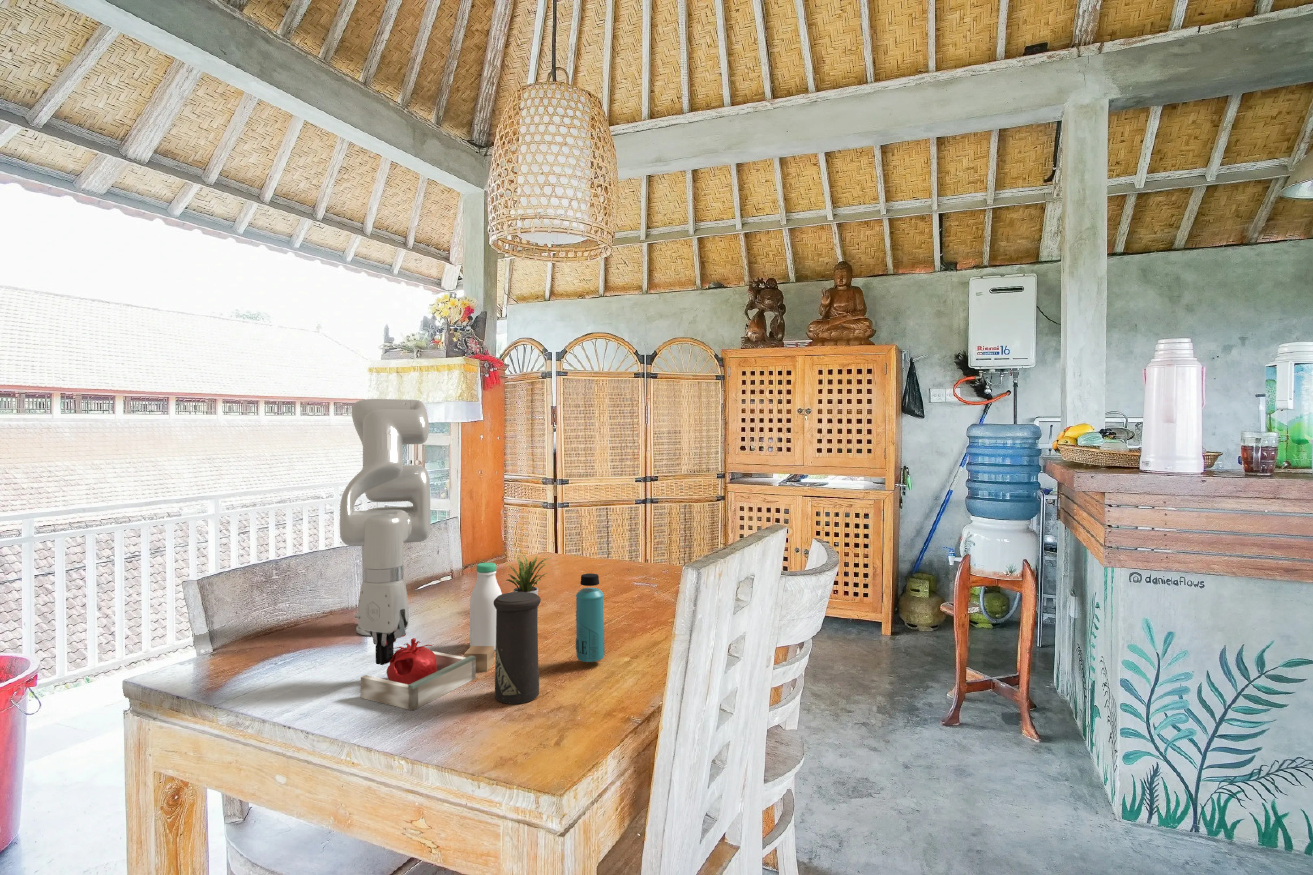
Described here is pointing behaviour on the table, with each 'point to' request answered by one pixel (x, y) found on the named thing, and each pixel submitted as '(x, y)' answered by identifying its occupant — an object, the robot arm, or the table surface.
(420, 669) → the pomegranate
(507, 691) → the container
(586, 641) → the beverage bottle
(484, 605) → the milk bottle
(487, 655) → the teak block
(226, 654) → the table surface
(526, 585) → the house plant
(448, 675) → the display stand
